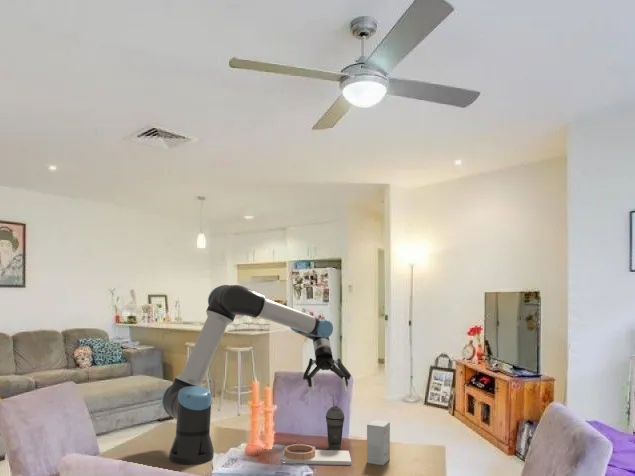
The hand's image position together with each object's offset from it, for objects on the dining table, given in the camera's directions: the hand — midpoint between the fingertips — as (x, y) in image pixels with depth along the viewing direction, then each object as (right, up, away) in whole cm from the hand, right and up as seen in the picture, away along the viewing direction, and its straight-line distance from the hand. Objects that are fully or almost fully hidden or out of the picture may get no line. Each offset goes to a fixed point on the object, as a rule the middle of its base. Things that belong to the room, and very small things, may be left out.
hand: (329, 392), depth 199 cm
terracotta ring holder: (-11, -14, -25) cm, 31 cm away
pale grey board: (-5, -15, -26) cm, 30 cm away
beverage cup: (+2, -17, -14) cm, 22 cm away
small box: (+17, -16, -26) cm, 35 cm away
